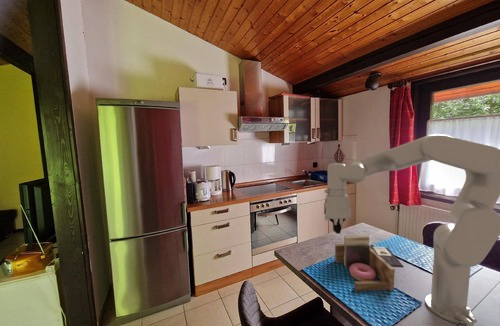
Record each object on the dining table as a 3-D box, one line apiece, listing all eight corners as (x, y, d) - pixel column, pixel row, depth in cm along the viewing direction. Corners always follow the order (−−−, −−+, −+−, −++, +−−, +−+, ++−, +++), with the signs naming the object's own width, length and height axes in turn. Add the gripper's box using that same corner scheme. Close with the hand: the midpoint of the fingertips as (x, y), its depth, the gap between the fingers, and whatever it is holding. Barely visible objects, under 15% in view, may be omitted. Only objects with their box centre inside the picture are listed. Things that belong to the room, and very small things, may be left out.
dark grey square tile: (369, 267, 104) (370, 246, 103) (346, 268, 104) (347, 246, 103) (368, 266, 105) (368, 245, 103) (345, 267, 105) (346, 245, 103)
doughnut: (377, 286, 91) (377, 277, 90) (348, 280, 95) (349, 271, 95) (374, 272, 101) (374, 263, 100) (348, 266, 105) (349, 258, 105)
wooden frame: (393, 289, 89) (395, 255, 87) (356, 290, 89) (357, 256, 87) (365, 259, 110) (366, 232, 109) (335, 260, 110) (335, 233, 109)
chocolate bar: (382, 264, 105) (370, 246, 123) (382, 266, 105) (370, 247, 123) (403, 265, 103) (387, 247, 121) (403, 267, 104) (387, 249, 121)
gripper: (322, 194, 89) (323, 237, 91) (358, 193, 89) (358, 235, 91) (317, 190, 96) (317, 229, 98) (350, 189, 96) (350, 228, 98)
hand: (337, 232), depth 94 cm, fingers closed
